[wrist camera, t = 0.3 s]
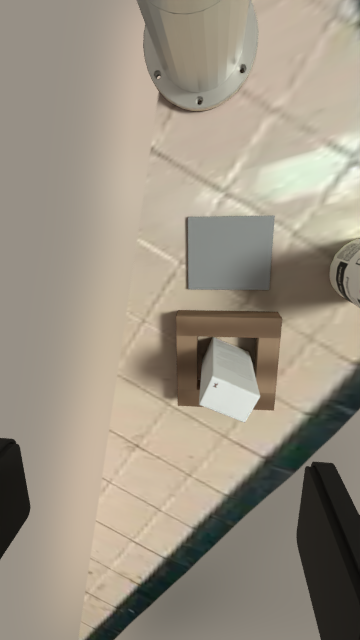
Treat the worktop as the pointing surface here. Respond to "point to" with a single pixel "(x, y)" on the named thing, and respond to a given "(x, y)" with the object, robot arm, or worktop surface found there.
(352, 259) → the supplement can
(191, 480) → the worktop surface
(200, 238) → the rubber mat
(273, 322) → the holder block
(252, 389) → the skincare box
